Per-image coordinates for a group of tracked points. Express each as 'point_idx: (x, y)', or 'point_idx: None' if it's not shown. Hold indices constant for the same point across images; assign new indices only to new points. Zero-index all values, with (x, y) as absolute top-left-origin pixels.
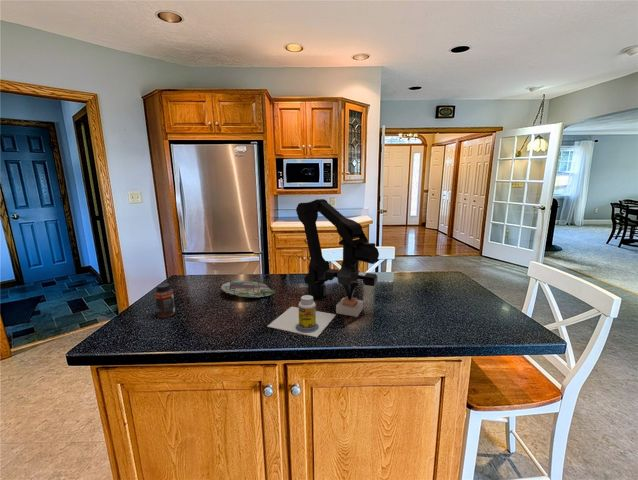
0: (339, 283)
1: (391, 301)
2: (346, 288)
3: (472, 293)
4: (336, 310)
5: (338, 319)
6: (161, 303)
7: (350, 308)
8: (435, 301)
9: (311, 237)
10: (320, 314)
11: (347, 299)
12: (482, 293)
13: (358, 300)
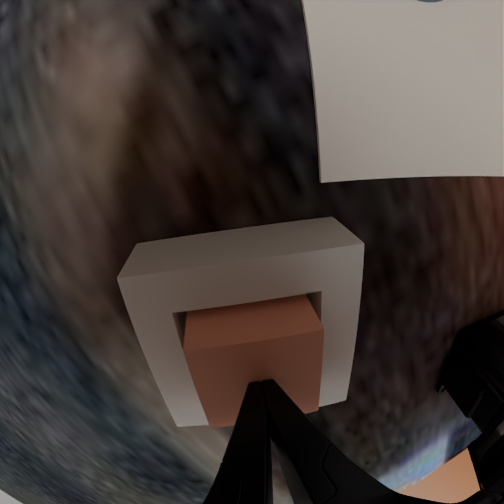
0: (482, 490)
1: (116, 466)
2: (332, 482)
3: (23, 498)
4: (338, 225)
5: (263, 112)
6: None
7: (194, 263)
8: (27, 473)
9: None
10: (424, 131)
11: (283, 371)
12: (14, 496)
13: None
